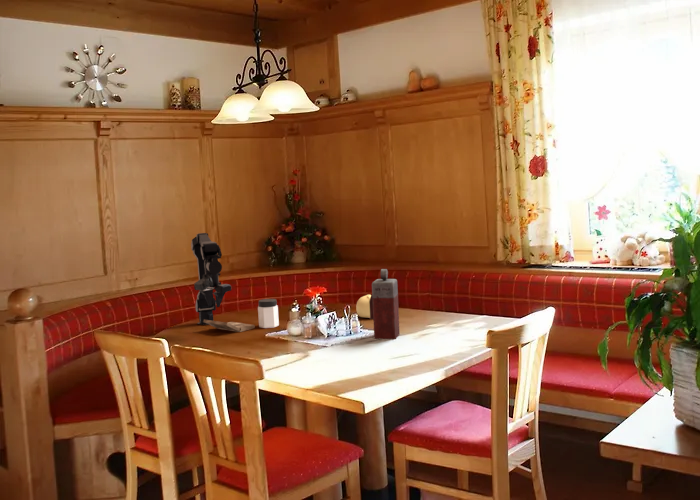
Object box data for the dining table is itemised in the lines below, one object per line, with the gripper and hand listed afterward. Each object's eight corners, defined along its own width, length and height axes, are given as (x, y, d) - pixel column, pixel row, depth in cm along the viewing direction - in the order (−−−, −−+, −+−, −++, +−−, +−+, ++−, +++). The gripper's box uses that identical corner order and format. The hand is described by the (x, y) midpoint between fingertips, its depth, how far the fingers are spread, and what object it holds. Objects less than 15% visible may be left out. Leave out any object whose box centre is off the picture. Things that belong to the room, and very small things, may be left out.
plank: (203, 321, 345) (204, 319, 345) (215, 327, 351) (216, 325, 351) (226, 325, 335) (227, 322, 335) (239, 331, 340) (240, 328, 341)
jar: (282, 325, 349) (280, 299, 348) (267, 329, 344) (265, 302, 343) (271, 323, 356) (269, 297, 355) (256, 326, 351) (254, 300, 349)
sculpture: (382, 319, 353) (381, 295, 352) (356, 320, 354) (355, 297, 352) (382, 314, 365) (381, 291, 364) (356, 315, 365) (355, 293, 364)
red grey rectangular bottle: (373, 333, 323) (370, 267, 320) (399, 334, 320) (396, 267, 317) (368, 338, 314) (365, 270, 311) (395, 339, 311) (392, 270, 308)
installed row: (216, 328, 351) (216, 325, 351) (231, 324, 358) (231, 321, 357) (240, 331, 341) (239, 328, 340) (254, 328, 347) (254, 324, 347)
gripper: (183, 272, 337) (185, 307, 339) (211, 275, 325) (213, 311, 327) (203, 269, 346) (205, 303, 347) (231, 271, 334) (233, 307, 335)
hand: (213, 306), depth 339 cm, fingers open, 5 cm apart
